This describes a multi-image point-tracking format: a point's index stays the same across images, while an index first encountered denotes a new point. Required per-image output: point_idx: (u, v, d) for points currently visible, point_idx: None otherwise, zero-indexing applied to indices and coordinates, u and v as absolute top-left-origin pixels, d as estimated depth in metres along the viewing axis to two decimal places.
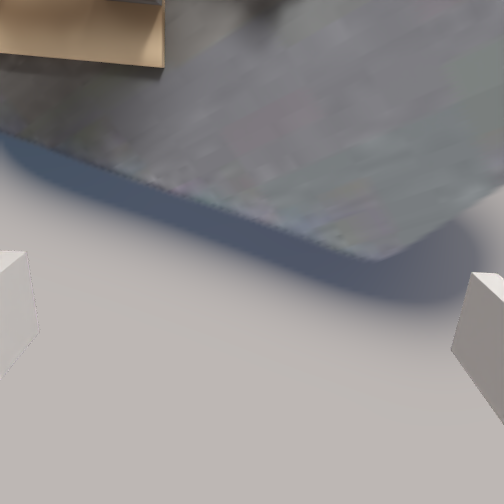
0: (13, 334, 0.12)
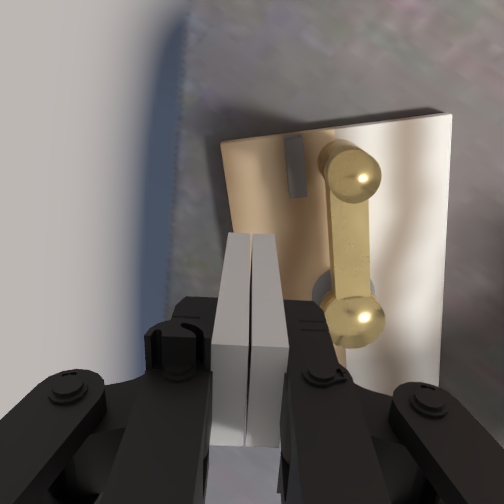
0: None
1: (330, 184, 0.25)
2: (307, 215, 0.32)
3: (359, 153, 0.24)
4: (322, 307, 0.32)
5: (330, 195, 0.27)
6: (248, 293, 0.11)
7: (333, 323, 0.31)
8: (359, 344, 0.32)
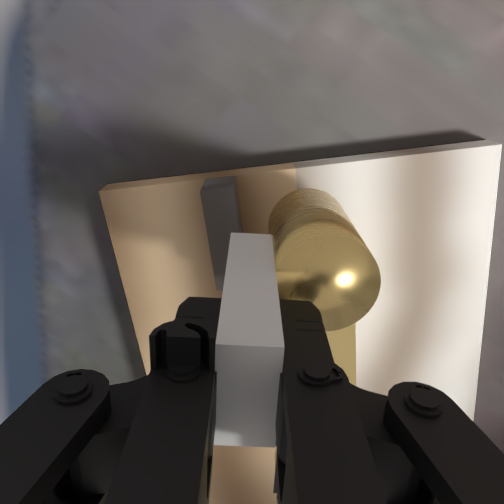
0: None
1: None
2: None
3: (335, 238, 0.12)
4: None
5: None
6: (244, 293, 0.11)
7: None
8: None
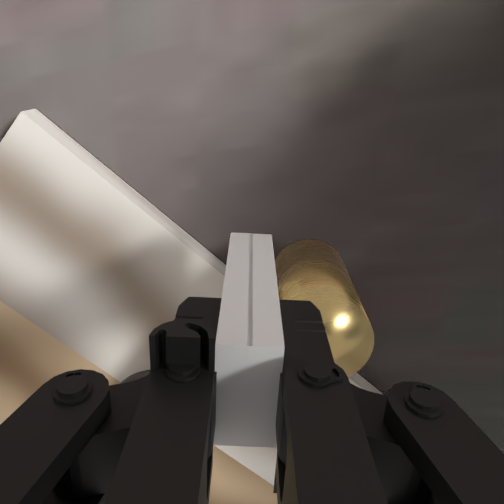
0: None
1: None
2: (18, 360, 0.21)
3: (364, 318, 0.13)
4: None
5: None
6: (244, 293, 0.11)
7: None
8: None
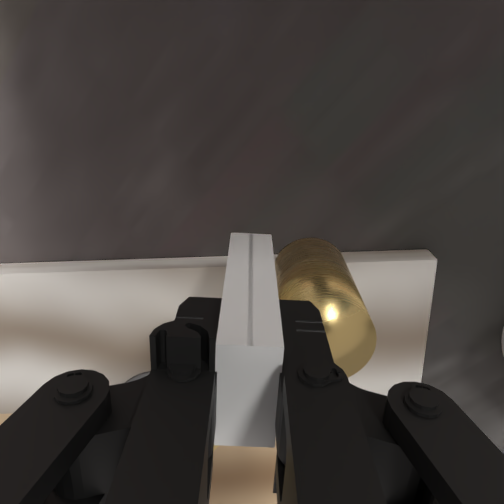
0: None
1: None
2: None
3: (366, 317, 0.13)
4: None
5: None
6: (244, 293, 0.11)
7: None
8: None
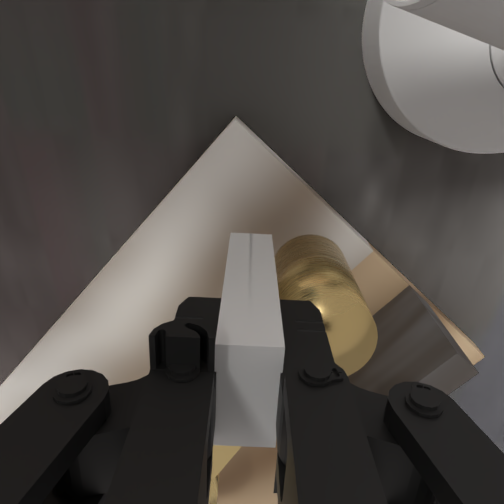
0: None
1: None
2: None
3: (363, 310, 0.12)
4: None
5: None
6: (244, 293, 0.11)
7: None
8: None
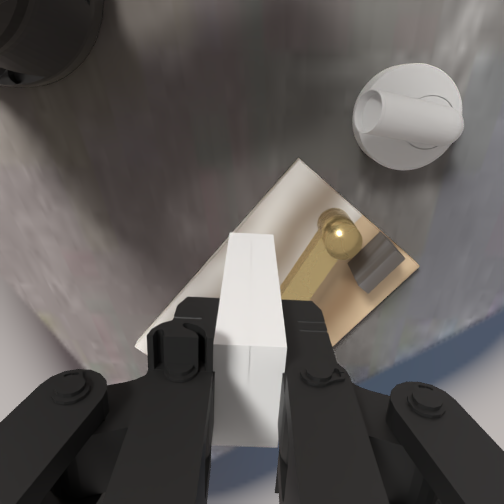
0: None
1: (327, 236, 0.35)
2: None
3: (356, 230, 0.35)
4: None
5: (318, 241, 0.37)
6: (246, 293, 0.11)
7: None
8: None
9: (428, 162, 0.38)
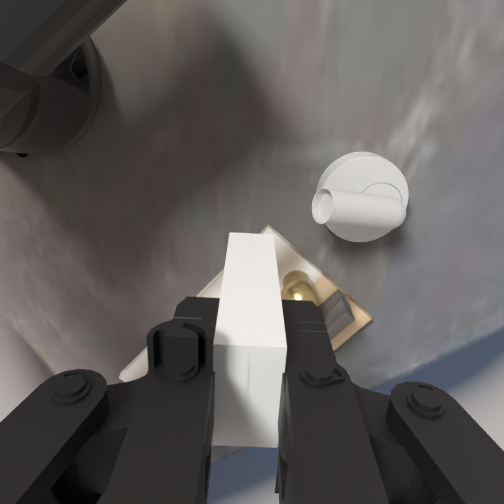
0: None
1: None
2: None
3: (312, 297, 0.40)
4: None
5: None
6: (246, 293, 0.11)
7: None
8: None
9: (379, 236, 0.43)
